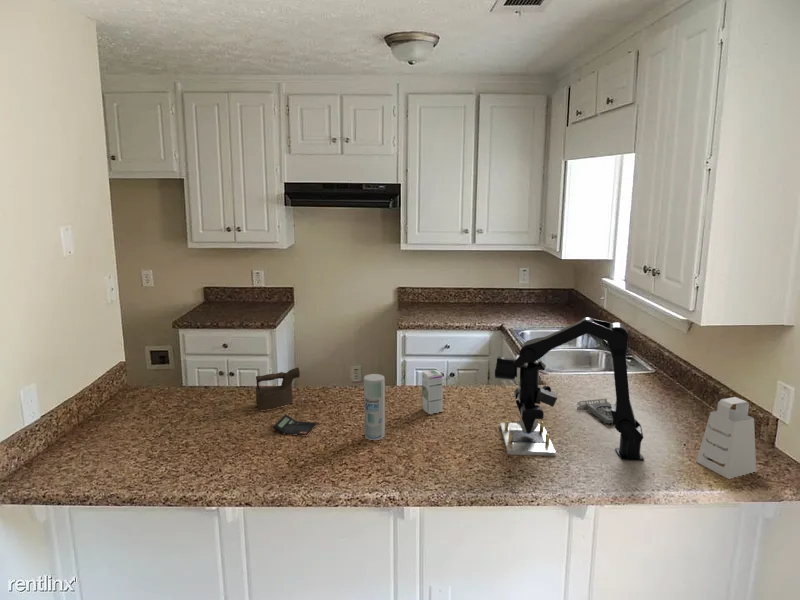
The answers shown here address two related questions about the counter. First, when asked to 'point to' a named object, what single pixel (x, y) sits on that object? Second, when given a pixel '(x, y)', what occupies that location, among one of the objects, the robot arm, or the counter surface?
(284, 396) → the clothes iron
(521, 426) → the electric motor
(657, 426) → the counter surface
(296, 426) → the calculator
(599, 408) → the graphics card
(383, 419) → the spray can
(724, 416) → the grater
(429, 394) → the syrup box
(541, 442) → the chassis plate
